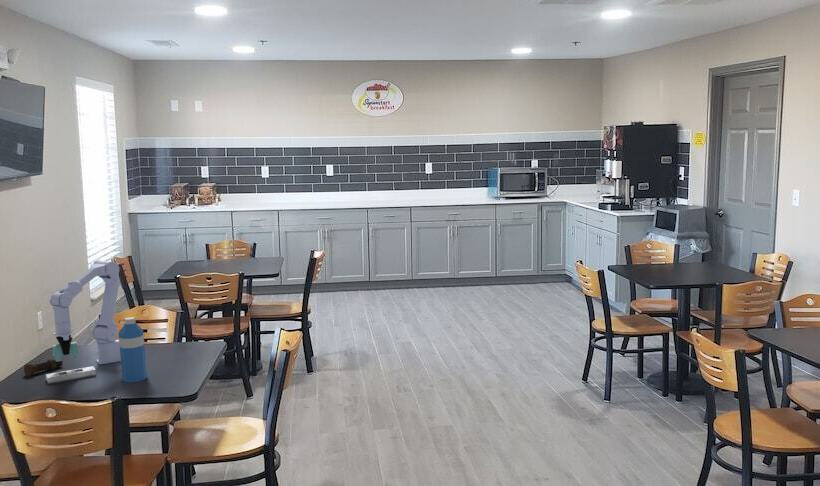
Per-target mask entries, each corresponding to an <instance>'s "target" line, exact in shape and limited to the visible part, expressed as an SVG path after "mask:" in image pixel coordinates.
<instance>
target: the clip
mask: <svg viewBox="0 0 820 486" xmlns="http://www.w3.org/2000/svg"><path fill="white" fill-rule="evenodd" d="M78 351H79V350H78V342H77V341H73V342H72V341H71V344H70V351H69V354H68V355H63V353H62V349H61V345H60V344H59V343H58V344H57V343H56V344H52V353H53V354H52V355H53V357H54V358H55V359H54V360H56V362H58V361H61V360H62V357H63V356H64V357H65V356H70V357H71V360H75V359H78V357H77V356H78V355H77V354H79V352H78Z"/></svg>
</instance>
